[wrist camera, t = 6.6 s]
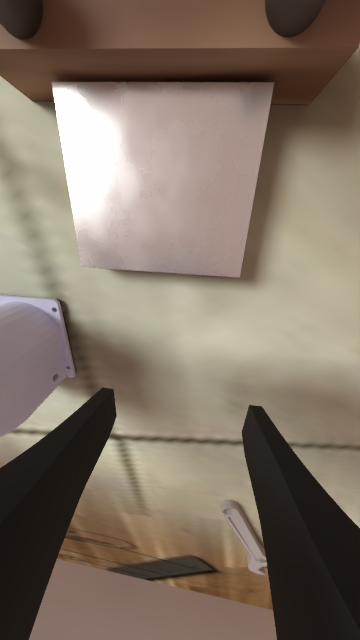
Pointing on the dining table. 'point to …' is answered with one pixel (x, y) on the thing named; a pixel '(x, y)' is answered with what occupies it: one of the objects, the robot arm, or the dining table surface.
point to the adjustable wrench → (245, 536)
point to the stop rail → (177, 43)
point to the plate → (162, 171)
